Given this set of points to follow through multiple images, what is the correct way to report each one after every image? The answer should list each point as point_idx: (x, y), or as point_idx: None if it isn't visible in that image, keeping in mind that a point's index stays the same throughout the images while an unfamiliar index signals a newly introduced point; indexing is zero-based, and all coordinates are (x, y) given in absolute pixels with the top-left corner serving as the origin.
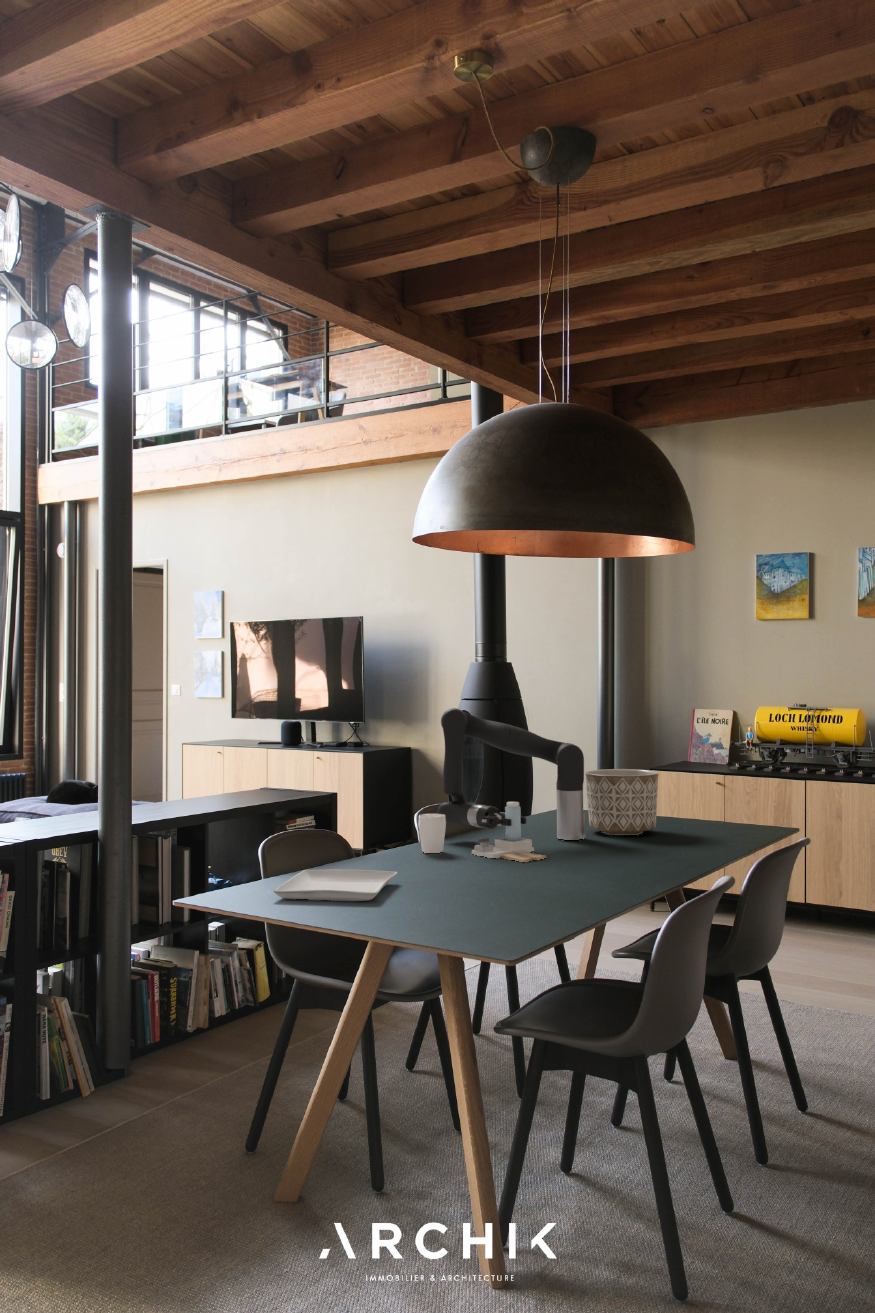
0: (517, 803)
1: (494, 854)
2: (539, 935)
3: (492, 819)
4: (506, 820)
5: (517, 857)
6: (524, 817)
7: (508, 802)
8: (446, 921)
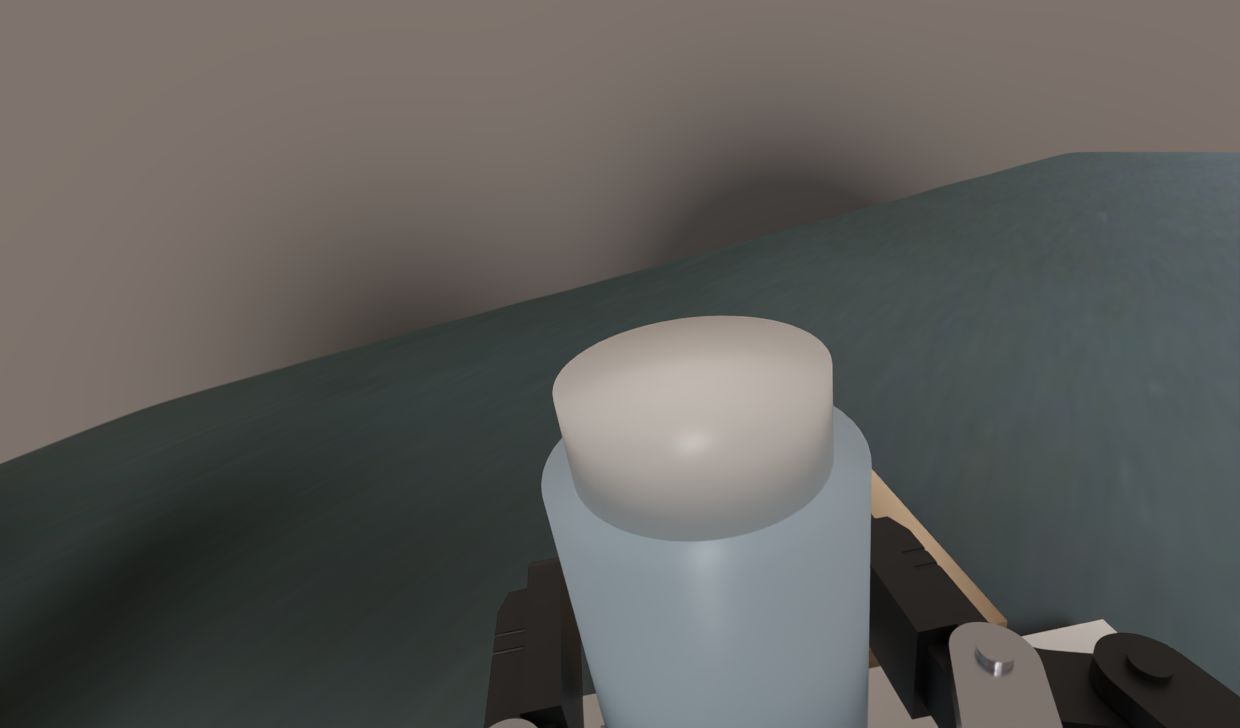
0: (651, 334)
1: (1080, 627)
2: (1017, 171)
3: (1215, 707)
4: (897, 532)
5: (882, 515)
6: (551, 560)
7: (781, 374)
8: (1217, 177)
